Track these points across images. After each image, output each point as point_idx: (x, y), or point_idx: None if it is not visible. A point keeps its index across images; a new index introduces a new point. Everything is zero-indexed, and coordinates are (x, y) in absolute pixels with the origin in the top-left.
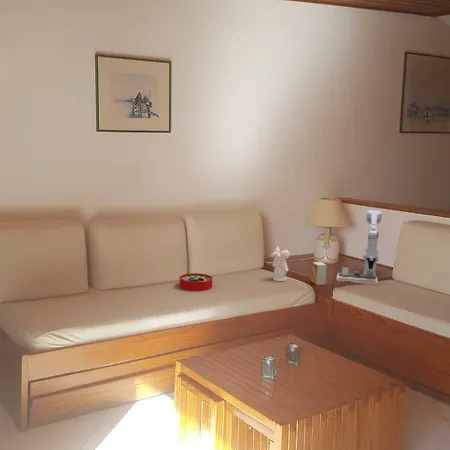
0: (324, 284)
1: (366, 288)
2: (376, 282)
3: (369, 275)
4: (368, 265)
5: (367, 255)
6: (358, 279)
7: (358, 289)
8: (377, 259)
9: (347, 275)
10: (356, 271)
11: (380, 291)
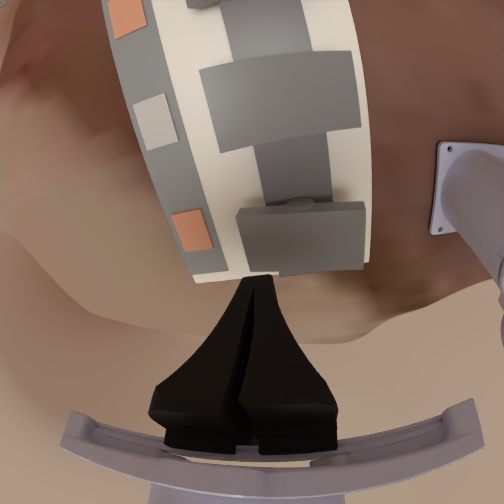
0: (2, 6)
1: (69, 228)
2: (194, 275)
3: (242, 239)
4: (226, 311)
5: (150, 481)
6: (160, 135)
7: (26, 195)
8: (502, 340)
9: (193, 5)
10: (337, 75)
11: (85, 294)
